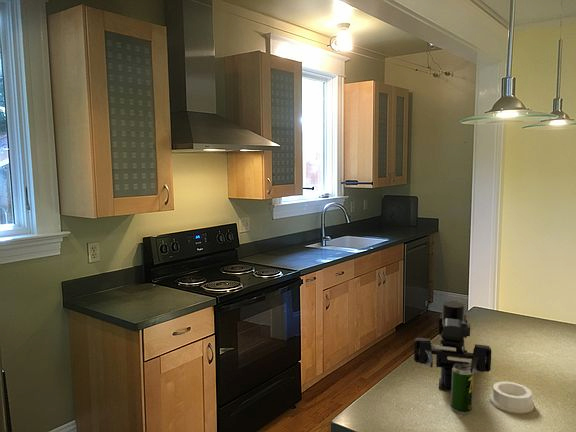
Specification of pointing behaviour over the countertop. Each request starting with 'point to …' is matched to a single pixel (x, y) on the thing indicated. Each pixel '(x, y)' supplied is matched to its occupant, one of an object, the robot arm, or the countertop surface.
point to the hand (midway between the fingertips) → (451, 368)
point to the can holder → (512, 398)
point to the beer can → (461, 388)
